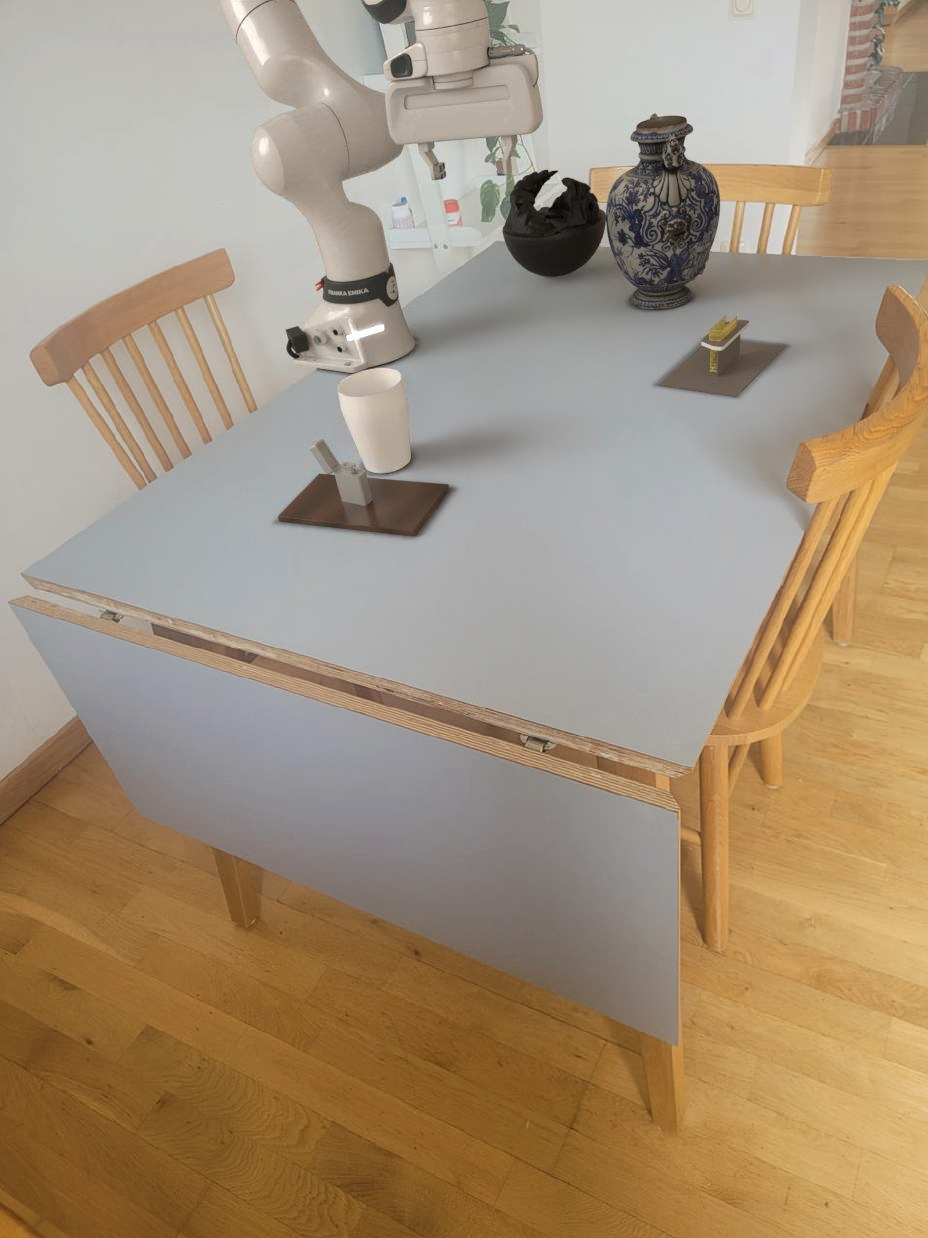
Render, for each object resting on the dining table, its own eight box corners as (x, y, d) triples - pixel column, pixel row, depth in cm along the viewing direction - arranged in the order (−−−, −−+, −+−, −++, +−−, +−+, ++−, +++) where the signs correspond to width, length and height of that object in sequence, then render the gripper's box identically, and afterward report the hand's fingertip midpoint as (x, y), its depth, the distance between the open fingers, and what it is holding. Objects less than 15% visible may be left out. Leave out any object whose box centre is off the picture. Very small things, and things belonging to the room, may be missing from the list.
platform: (658, 384, 125) (657, 341, 121) (710, 337, 135) (711, 296, 131) (736, 396, 119) (738, 351, 114) (785, 345, 129) (788, 302, 125)
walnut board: (279, 521, 111) (277, 516, 111) (320, 478, 119) (319, 473, 118) (414, 536, 103) (413, 531, 103) (449, 489, 111) (448, 483, 110)
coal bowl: (507, 265, 179) (495, 167, 167) (602, 251, 176) (597, 150, 165) (509, 298, 163) (497, 192, 151) (614, 282, 161) (609, 174, 149)
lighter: (373, 499, 110) (359, 444, 105) (365, 506, 109) (351, 450, 104) (331, 490, 114) (315, 437, 109) (323, 497, 113) (307, 443, 108)
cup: (428, 446, 121) (412, 367, 113) (405, 479, 115) (387, 397, 107) (371, 445, 124) (352, 367, 116) (346, 477, 118) (324, 397, 110)
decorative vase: (729, 312, 142) (738, 122, 124) (618, 328, 144) (611, 144, 126) (702, 271, 158) (706, 99, 141) (602, 287, 160) (594, 118, 143)
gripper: (544, 36, 101) (554, 164, 109) (393, 56, 109) (413, 174, 117) (527, 46, 96) (538, 178, 105) (371, 65, 104) (393, 187, 113)
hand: (471, 176), depth 111 cm, fingers open, 8 cm apart
